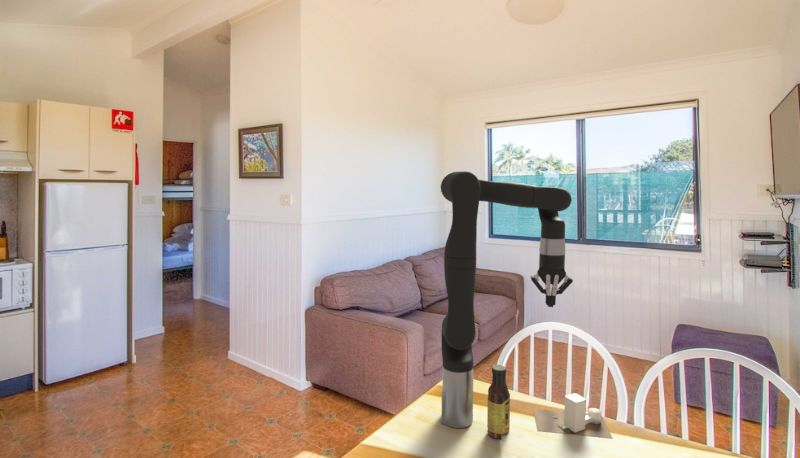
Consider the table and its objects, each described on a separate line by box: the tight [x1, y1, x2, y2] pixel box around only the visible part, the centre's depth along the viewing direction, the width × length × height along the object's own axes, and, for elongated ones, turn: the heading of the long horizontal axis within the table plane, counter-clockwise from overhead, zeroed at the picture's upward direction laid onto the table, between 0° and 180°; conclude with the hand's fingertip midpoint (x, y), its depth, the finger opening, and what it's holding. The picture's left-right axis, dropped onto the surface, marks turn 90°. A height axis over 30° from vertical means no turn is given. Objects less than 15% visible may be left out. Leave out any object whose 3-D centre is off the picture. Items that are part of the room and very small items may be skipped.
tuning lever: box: [563, 392, 602, 433], centre depth 126 cm, size 14×4×9 cm, turn 115°
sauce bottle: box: [486, 364, 511, 440], centre depth 124 cm, size 7×6×20 cm
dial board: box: [532, 408, 613, 440], centre depth 128 cm, size 20×12×2 cm, turn 79°
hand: (550, 306), depth 137 cm, fingers closed
